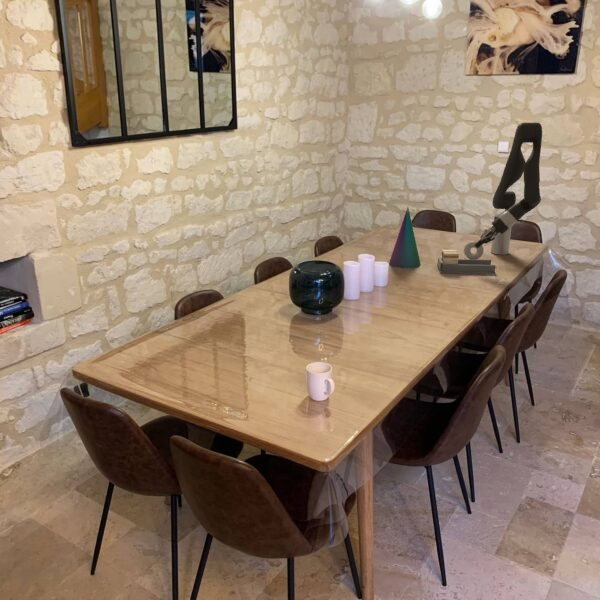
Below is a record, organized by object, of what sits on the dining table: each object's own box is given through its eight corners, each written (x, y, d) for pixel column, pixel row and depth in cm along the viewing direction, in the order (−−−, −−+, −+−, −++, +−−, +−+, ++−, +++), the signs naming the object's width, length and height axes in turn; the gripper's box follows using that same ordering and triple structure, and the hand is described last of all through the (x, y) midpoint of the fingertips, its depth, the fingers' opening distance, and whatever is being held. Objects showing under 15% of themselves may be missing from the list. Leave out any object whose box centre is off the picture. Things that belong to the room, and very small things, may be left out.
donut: (482, 259, 308) (484, 240, 304) (482, 261, 305) (484, 242, 301) (462, 258, 310) (464, 239, 307) (462, 260, 307) (464, 241, 304)
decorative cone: (426, 263, 302) (430, 205, 292) (409, 270, 291) (413, 210, 280) (400, 257, 312) (403, 201, 302) (382, 264, 301) (385, 206, 291)
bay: (436, 265, 298) (437, 255, 296) (489, 266, 296) (490, 256, 294) (440, 273, 285) (441, 263, 283) (495, 274, 283) (496, 264, 281)
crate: (440, 265, 294) (441, 249, 292) (455, 265, 294) (456, 249, 291) (442, 269, 287) (443, 253, 285) (457, 269, 287) (459, 253, 284)
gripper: (496, 213, 286) (468, 238, 291) (502, 219, 274) (473, 244, 279) (506, 224, 288) (478, 248, 293) (512, 230, 275) (483, 255, 280)
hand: (475, 246), depth 286 cm, fingers closed
